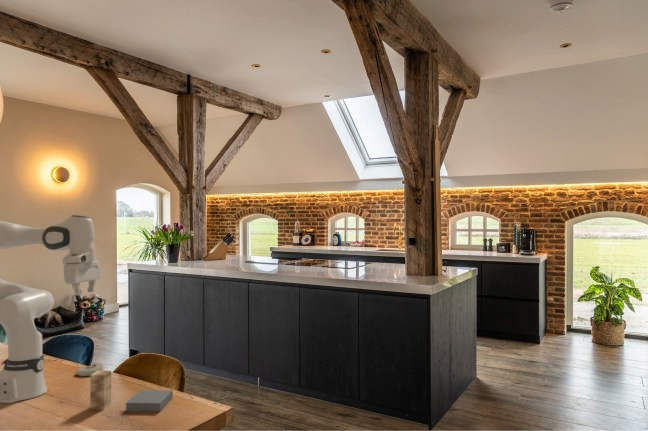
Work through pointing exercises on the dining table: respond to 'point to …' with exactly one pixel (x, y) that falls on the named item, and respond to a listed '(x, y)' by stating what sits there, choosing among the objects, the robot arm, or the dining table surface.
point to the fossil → (89, 369)
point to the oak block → (100, 390)
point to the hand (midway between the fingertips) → (84, 293)
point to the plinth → (149, 400)
